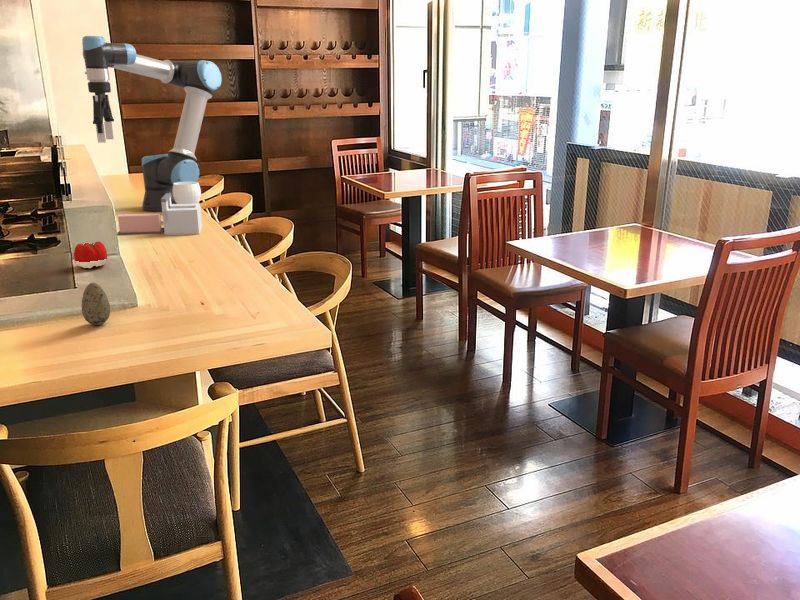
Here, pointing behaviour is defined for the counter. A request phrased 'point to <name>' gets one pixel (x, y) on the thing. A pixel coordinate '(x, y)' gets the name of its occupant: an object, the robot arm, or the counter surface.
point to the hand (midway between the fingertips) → (106, 141)
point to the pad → (142, 232)
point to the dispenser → (180, 217)
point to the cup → (186, 192)
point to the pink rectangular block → (139, 223)
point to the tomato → (90, 252)
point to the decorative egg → (95, 305)
